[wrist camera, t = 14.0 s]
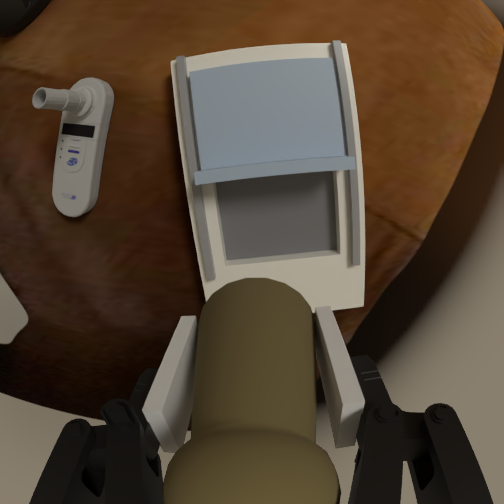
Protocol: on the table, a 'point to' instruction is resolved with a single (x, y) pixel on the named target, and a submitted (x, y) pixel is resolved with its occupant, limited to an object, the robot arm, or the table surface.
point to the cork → (253, 404)
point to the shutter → (267, 119)
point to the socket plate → (279, 199)
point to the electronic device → (78, 141)
